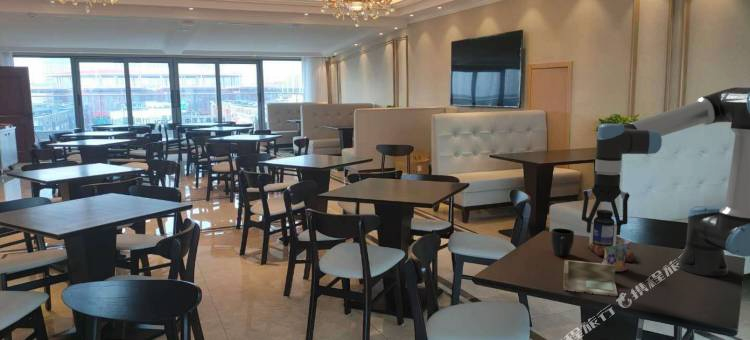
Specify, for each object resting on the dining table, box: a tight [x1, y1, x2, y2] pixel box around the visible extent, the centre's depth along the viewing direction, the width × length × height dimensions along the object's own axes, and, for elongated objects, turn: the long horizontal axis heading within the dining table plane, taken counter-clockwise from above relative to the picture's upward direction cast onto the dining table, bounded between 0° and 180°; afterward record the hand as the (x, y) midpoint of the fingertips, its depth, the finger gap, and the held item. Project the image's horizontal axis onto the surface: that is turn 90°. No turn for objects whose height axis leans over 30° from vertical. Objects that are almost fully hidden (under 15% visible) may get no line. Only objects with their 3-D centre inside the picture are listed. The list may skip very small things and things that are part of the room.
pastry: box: [587, 235, 635, 263], centre depth 209 cm, size 17×15×8 cm
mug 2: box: [601, 237, 631, 273], centre depth 193 cm, size 12×9×11 cm
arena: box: [562, 259, 619, 297], centre depth 176 cm, size 16×14×6 cm
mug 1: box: [550, 227, 575, 258], centre depth 206 cm, size 8×12×10 cm
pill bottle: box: [593, 209, 615, 247], centre depth 172 cm, size 6×6×11 cm
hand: (602, 243), depth 172 cm, fingers closed on pill bottle, 6 cm apart
